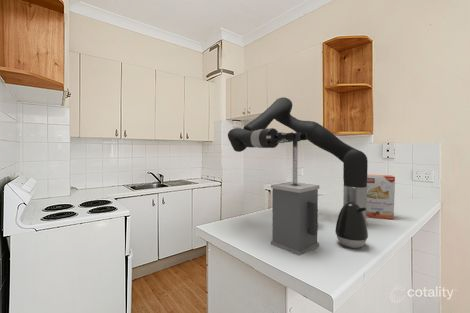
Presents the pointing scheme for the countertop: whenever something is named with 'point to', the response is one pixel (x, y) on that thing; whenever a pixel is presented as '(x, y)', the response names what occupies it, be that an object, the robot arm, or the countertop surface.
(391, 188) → the cracker box
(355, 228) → the black egg-shaped dispenser
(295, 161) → the plunger
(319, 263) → the countertop surface
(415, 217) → the countertop surface
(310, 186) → the press
